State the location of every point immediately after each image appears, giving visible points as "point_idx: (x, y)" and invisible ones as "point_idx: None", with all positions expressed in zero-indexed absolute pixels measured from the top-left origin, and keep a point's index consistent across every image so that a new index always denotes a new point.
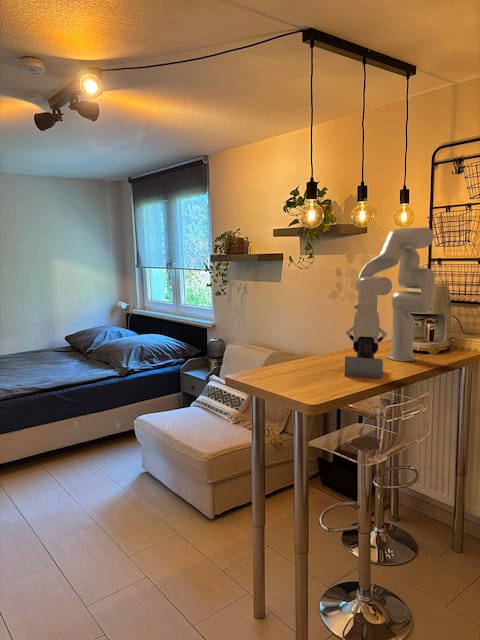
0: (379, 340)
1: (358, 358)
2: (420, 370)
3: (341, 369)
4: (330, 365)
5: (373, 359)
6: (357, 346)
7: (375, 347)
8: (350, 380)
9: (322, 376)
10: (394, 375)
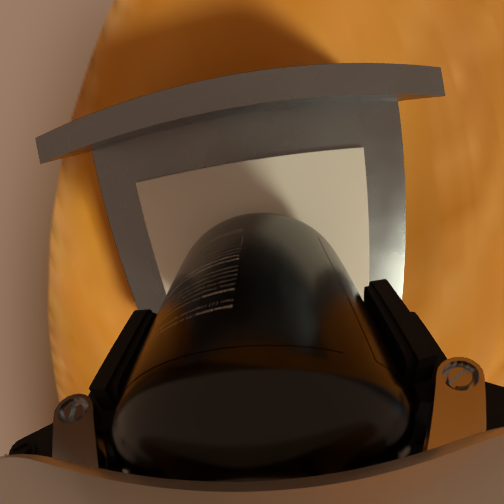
0: (49, 437)
1: (286, 69)
2: (69, 391)
3: (413, 260)
4: (463, 312)
5: (109, 109)
6: (377, 328)
7: (114, 353)
8: (297, 5)
9: (466, 45)
10: (95, 272)
